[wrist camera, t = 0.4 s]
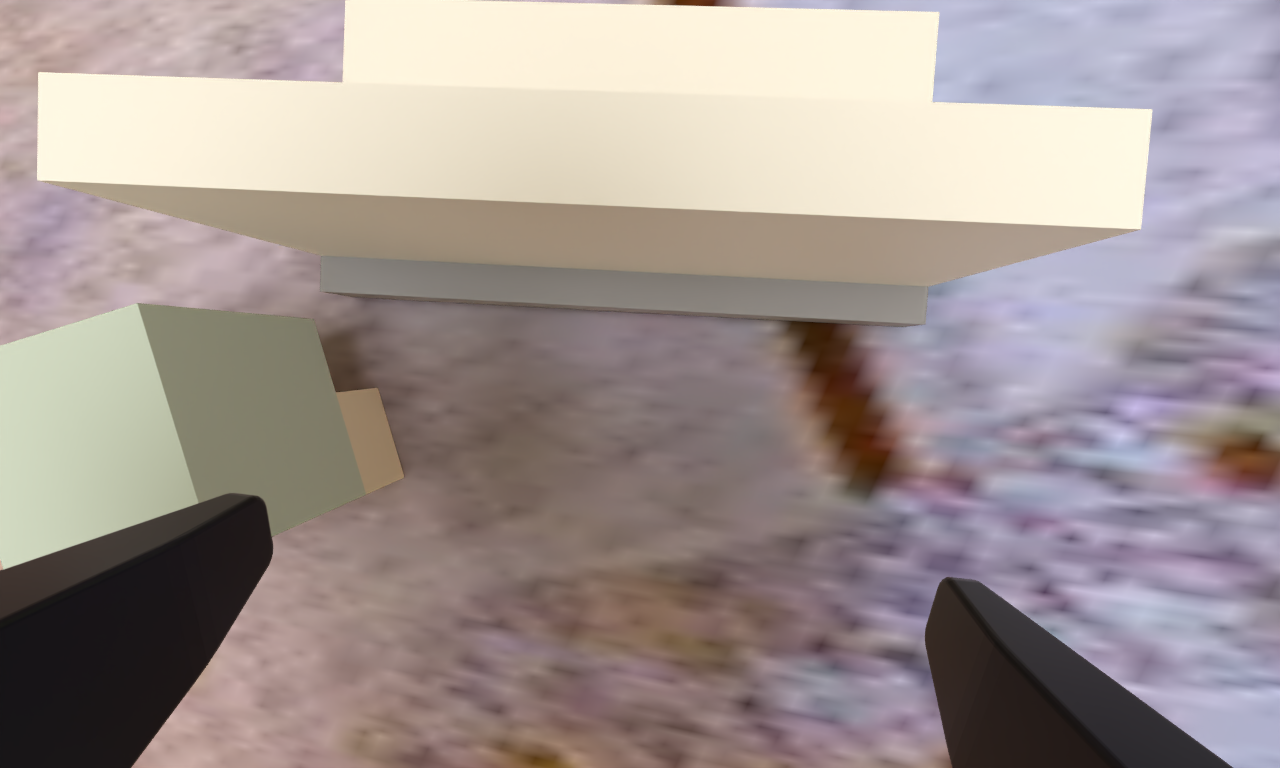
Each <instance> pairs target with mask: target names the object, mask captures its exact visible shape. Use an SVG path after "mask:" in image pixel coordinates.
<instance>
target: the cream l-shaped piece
mask: <svg viewBox="0 0 1280 768" xmlns="http://www.w3.org/2000/svg"><path fill="white" fill-rule="evenodd" d="M938 23H939V12H913V11H872V10H832V9H792V8H752V7H711V6H671V5H631V4H590V3H550V2H510V1H469V0H345V29H344V58H343V83H342V82H312V81H282V80H252V79H222V78H192V77H162V76H132V75H102V74H72V73H42V72H38V155H37V180H38V181H42V182H45V183H49V184H53V185H57V186H61V187H64V188H68V189H72V190H76V191H79V192H83V193H87V194H91V195H94V196H98V197H102V198H106V199H109V200H113V201H117V202H121V203H125V204H128V205H132V206H136V207H140V208H143V209H147V210H151V211H155V212H158V213H162V214H166V215H170V216H173V217H177V218H181V219H185V220H189V221H192V222H196V223H200V224H204V225H207V226H211V227H215V228H219V229H222V230H226V231H230V232H234V233H237V234H241V235H245V236H249V237H252V238H256V239H260V240H264V241H268V242H271V243H275V244H279V245H283V246H286V247H290V248H294V249H298V250H301V251H305V252H309V253H313V254H316V255H320V256H321V274H320V292H326V293H332V294H338V295H344V296H350V297H364V298H382V299H400V300H419V301H437V302H455V303H473V304H492V305H510V306H528V307H547V308H565V309H583V310H601V311H620V312H638V313H656V314H675V315H693V316H711V317H730V318H748V319H766V320H784V321H803V322H821V323H839V324H858V325H876V326H894V327H907V326H915V325H924V324H925V322H926V309H927V297H928V286H932V285H936V284H940V283H943V282H947V281H951V280H954V279H958V278H962V277H966V276H969V275H973V274H977V273H980V272H984V271H988V270H992V269H995V268H999V267H1003V266H1006V265H1010V264H1014V263H1018V262H1021V261H1025V260H1029V259H1032V258H1036V257H1040V256H1044V255H1047V254H1051V253H1055V252H1059V251H1062V250H1066V249H1070V248H1073V247H1077V246H1081V245H1085V244H1088V243H1092V242H1096V241H1099V240H1103V239H1107V238H1111V237H1114V236H1118V235H1122V234H1125V233H1129V232H1133V231H1137V230H1140V229H1141V223H1142V212H1143V202H1144V192H1145V181H1146V171H1147V161H1148V150H1149V140H1150V130H1151V119H1152V109H1123V108H1093V107H1063V106H1033V105H1003V104H973V103H943V102H932V98H933V85H934V73H935V60H936V48H937V35H938Z"/></svg>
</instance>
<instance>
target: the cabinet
mask: <svg viewBox="0 0 1280 768" xmlns="http://www.w3.org/2000/svg"><path fill="white" fill-rule="evenodd" d="M402 478H404V474H403V471H402V467H401V464H400V461H399V457H398V454H397V451H396V447H395V444H394V440H393V437H392V434H391V430H390V427H389V424H388V420H387V417H386V413H385V410H384V407H383V403H382V400H381V397H380V393H379V390H378V388H371V389H362V390H353V391H345V392H335V389H334V385H333V382H332V379H331V375H330V372H329V369H328V365H327V362H326V359H325V355H324V352H323V348H322V345H321V342H320V338H319V335H318V332H317V328H316V325H315V322H314V319H307V318H296V317H285V316H274V315H263V314H252V313H241V312H229V311H218V310H207V309H196V308H185V307H174V306H163V305H152V304H141V303H136V304H133V305H130V306H127V307H123V308H120V309H117V310H114V311H111V312H107V313H104V314H101V315H98V316H95V317H91V318H88V319H85V320H82V321H78V322H75V323H72V324H69V325H66V326H62V327H59V328H56V329H53V330H50V331H46V332H43V333H40V334H37V335H34V336H30V337H27V338H24V339H21V340H18V341H14V342H11V343H8V344H5V345H1V346H0V560H1V563H2V566H3V569H6V568H9V567H12V566H15V565H18V564H21V563H24V562H27V561H30V560H33V559H36V558H39V557H42V556H45V555H48V554H50V553H53V552H56V551H59V550H62V549H65V548H68V547H71V546H74V545H77V544H80V543H83V542H86V541H89V540H92V539H95V538H98V537H101V536H103V535H106V534H109V533H112V532H115V531H118V530H121V529H124V528H127V527H130V526H133V525H136V524H139V523H142V522H145V521H148V520H151V519H154V518H156V517H159V516H162V515H165V514H168V513H171V512H174V511H177V510H180V509H183V508H186V507H189V506H192V505H195V504H198V503H201V502H204V501H207V500H209V499H212V498H215V497H218V496H221V495H224V494H228V493H240V494H248V495H257V496H259V497H261V498H262V499H263V500H264V502H265V503H266V506H267V512H268V518H269V524H270V529H271V535H272V536H275V535H277V534H279V533H281V532H284V531H286V530H288V529H290V528H293V527H295V526H297V525H299V524H302V523H304V522H306V521H308V520H310V519H313V518H315V517H317V516H319V515H322V514H324V513H326V512H328V511H331V510H333V509H335V508H337V507H339V506H342V505H344V504H346V503H348V502H351V501H353V500H355V499H357V498H360V497H362V496H364V495H366V494H369V493H371V492H373V491H375V490H377V489H380V488H382V487H384V486H386V485H389V484H391V483H393V482H395V481H398V480H400V479H402Z"/></svg>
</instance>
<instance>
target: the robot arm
mask: <svg viewBox="0 0 1280 768" xmlns="http://www.w3.org/2000/svg"><path fill="white" fill-rule="evenodd" d="M272 554H273V541H272V535H271V529H270V524H269V518H268V512H267V506H266V503H265V502H264V500H263V499H262V498H261V497H259V496H257V495H248V494H240V493H228V494H224V495H221V496H218V497H215V498H212V499H209V500H207V501H204V502H201V503H198V504H195V505H192V506H189V507H186V508H183V509H180V510H177V511H174V512H171V513H168V514H165V515H162V516H159V517H156V518H154V519H151V520H148V521H145V522H142V523H139V524H136V525H133V526H130V527H127V528H124V529H121V530H118V531H115V532H112V533H109V534H106V535H103V536H101V537H98V538H95V539H92V540H89V541H86V542H83V543H80V544H77V545H74V546H71V547H68V548H65V549H62V550H59V551H56V552H53V553H50V554H48V555H45V556H42V557H39V558H36V559H33V560H30V561H27V562H24V563H21V564H18V565H15V566H12V567H9V568H6V569H3V570H0V768H131V767H132V766H133V765H134V763H135V762H136V761H137V759H138V758H139V757H140V755H141V754H142V753H143V751H144V750H145V749H146V747H147V746H148V745H149V743H150V742H151V741H152V739H153V738H154V737H155V735H156V734H157V733H158V731H159V730H160V729H161V727H162V726H163V724H164V723H165V722H166V720H167V719H168V718H169V716H170V715H171V714H172V712H173V711H174V710H175V708H176V707H177V706H178V704H179V703H180V702H181V700H182V699H183V698H184V696H185V695H186V694H187V692H188V691H189V690H190V688H191V687H192V686H193V684H194V683H195V682H196V680H197V679H198V677H199V676H200V675H201V673H202V672H203V670H204V669H205V668H206V666H207V665H208V663H209V662H210V660H211V659H212V657H213V655H214V654H215V652H216V651H217V649H218V648H219V646H220V645H221V643H222V641H223V640H224V638H225V636H226V635H227V633H228V632H229V630H230V628H231V627H232V625H233V623H234V622H235V620H236V618H237V617H238V615H239V613H240V612H241V610H242V609H243V607H244V605H245V604H246V602H247V600H248V599H249V597H250V595H251V594H252V592H253V590H254V589H255V587H256V586H257V584H258V582H259V581H260V579H261V577H262V576H263V574H264V572H265V571H266V569H267V567H268V566H269V564H270V561H271V559H272ZM925 645H926V650H927V655H928V659H929V664H930V669H931V673H932V678H933V683H934V688H935V692H936V697H937V702H938V706H939V711H940V716H941V720H942V725H943V730H944V734H945V739H946V744H947V748H948V752H949V756H950V760H951V764H952V768H1233V767H1232V766H1230V765H1229V764H1227V763H1226V762H1225V761H1223V760H1222V759H1221V758H1219V757H1218V756H1217V755H1215V754H1214V753H1212V752H1211V751H1210V750H1208V749H1207V748H1206V747H1204V746H1203V745H1202V744H1200V743H1199V742H1197V741H1196V740H1195V739H1193V738H1192V737H1191V736H1189V735H1188V734H1187V733H1185V732H1184V731H1182V730H1181V729H1180V728H1178V727H1177V726H1176V725H1174V724H1173V723H1172V722H1170V721H1169V720H1167V719H1166V718H1165V717H1163V716H1162V715H1161V714H1159V713H1158V712H1157V711H1155V710H1154V709H1152V708H1151V707H1150V706H1148V705H1147V704H1146V703H1144V702H1143V701H1142V700H1140V699H1139V698H1137V697H1136V696H1135V695H1133V694H1132V693H1131V692H1129V691H1128V690H1127V689H1125V688H1124V687H1122V686H1121V685H1120V684H1118V683H1117V682H1116V681H1114V680H1113V679H1112V678H1110V677H1109V676H1107V675H1106V674H1105V673H1103V672H1102V671H1101V670H1099V669H1098V668H1097V667H1095V666H1094V665H1092V664H1091V663H1090V662H1088V661H1087V660H1086V659H1084V658H1083V657H1082V656H1080V655H1079V654H1077V653H1076V652H1075V651H1073V650H1072V649H1071V648H1069V647H1068V646H1067V645H1065V644H1064V643H1062V642H1061V641H1060V640H1058V639H1057V638H1056V637H1054V636H1053V635H1052V634H1050V633H1049V632H1047V631H1046V630H1045V629H1043V628H1042V627H1041V626H1039V625H1038V624H1037V623H1035V622H1034V621H1032V620H1031V619H1030V618H1028V617H1027V616H1026V615H1024V614H1023V613H1022V612H1020V611H1019V610H1017V609H1016V608H1015V607H1013V606H1012V605H1011V604H1009V603H1008V602H1007V601H1005V600H1004V599H1002V598H1001V597H1000V596H998V595H997V594H996V593H994V592H993V591H992V590H990V589H989V588H987V587H986V586H985V585H983V584H982V583H980V582H979V581H976V580H971V579H962V578H953V577H946V578H945V579H943V580H942V581H941V582H940V584H939V586H938V589H937V592H936V595H935V599H934V602H933V605H932V608H931V612H930V615H929V618H928V622H927V625H926V630H925Z"/></svg>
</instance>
